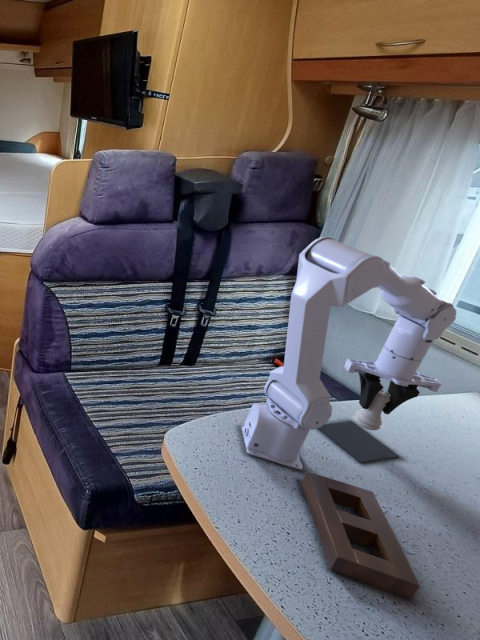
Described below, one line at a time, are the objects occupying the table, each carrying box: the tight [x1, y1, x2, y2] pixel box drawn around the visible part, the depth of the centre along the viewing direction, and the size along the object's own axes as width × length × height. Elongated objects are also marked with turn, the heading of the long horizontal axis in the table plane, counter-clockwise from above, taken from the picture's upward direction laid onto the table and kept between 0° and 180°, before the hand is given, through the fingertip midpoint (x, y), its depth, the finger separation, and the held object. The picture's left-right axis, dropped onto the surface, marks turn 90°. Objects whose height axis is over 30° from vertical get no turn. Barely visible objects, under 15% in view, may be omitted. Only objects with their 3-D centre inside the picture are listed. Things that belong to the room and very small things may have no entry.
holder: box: [300, 471, 421, 600], centre depth 75 cm, size 10×17×3 cm, turn 158°
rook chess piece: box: [352, 388, 391, 431], centre depth 93 cm, size 4×4×8 cm
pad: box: [317, 420, 400, 464], centre depth 96 cm, size 10×10×1 cm
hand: (373, 408), depth 93 cm, fingers closed on rook chess piece, 3 cm apart
